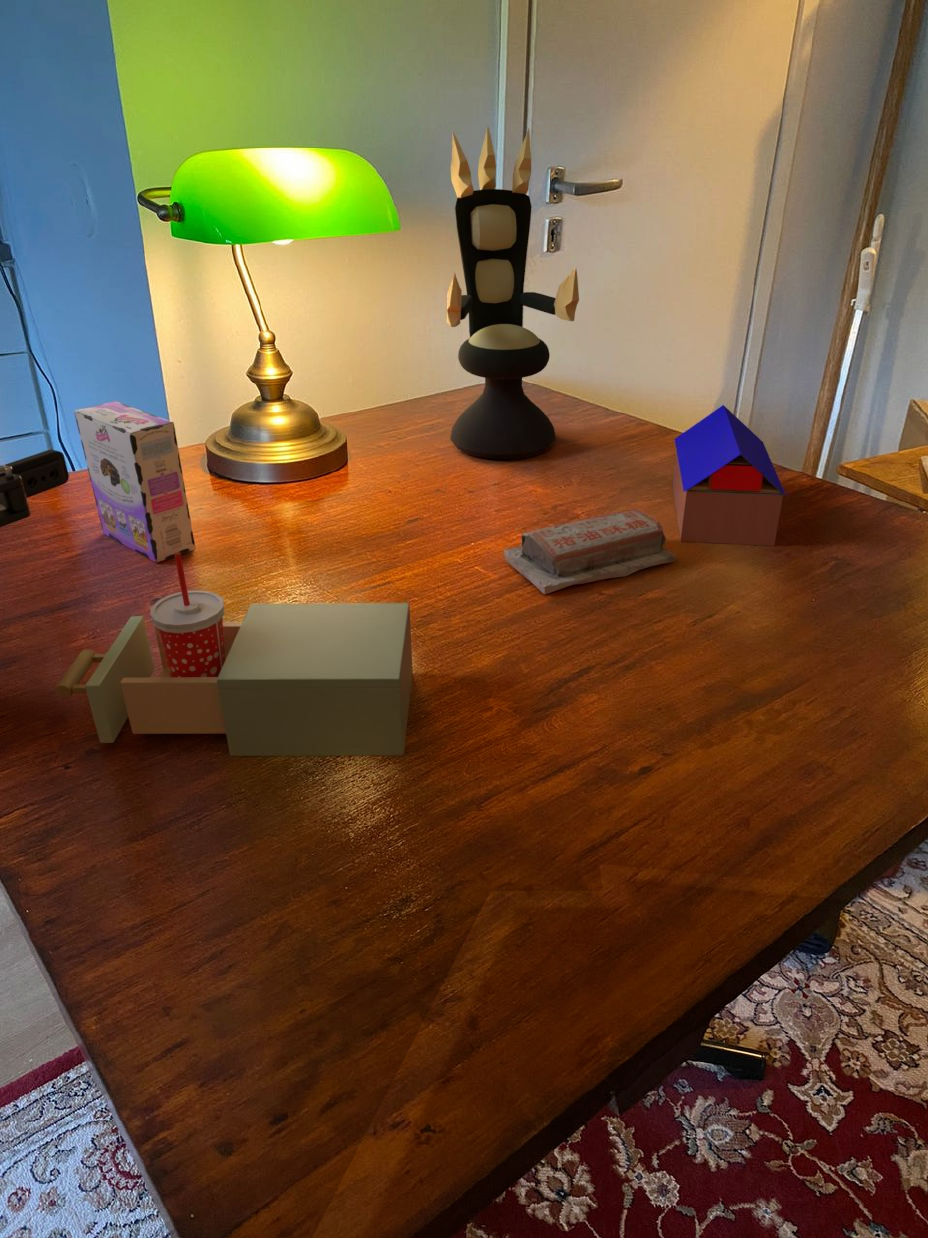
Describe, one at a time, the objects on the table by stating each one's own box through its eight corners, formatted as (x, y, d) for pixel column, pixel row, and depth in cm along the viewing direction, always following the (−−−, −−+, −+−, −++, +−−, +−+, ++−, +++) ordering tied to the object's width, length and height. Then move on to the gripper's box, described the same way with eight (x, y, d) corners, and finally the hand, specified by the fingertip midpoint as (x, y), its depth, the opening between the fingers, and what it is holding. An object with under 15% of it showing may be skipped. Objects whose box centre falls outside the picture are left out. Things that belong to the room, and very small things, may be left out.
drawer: (50, 743, 77) (33, 685, 74) (99, 669, 87) (86, 615, 84) (258, 742, 77) (249, 685, 74) (283, 668, 87) (276, 615, 84)
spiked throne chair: (453, 469, 136) (447, 128, 114) (428, 424, 155) (418, 124, 133) (573, 459, 139) (590, 126, 117) (534, 416, 158) (543, 122, 136)
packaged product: (630, 498, 113) (680, 527, 105) (627, 533, 115) (675, 564, 108) (502, 524, 106) (545, 558, 99) (502, 561, 109) (543, 597, 101)
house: (755, 487, 129) (768, 406, 123) (777, 547, 112) (793, 456, 106) (669, 483, 130) (678, 403, 124) (678, 542, 113) (688, 452, 107)
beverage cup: (196, 670, 85) (171, 533, 78) (251, 683, 83) (230, 544, 76) (153, 705, 80) (122, 562, 73) (210, 720, 78) (184, 575, 71)
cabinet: (229, 756, 77) (216, 679, 73) (260, 673, 88) (250, 603, 84) (403, 755, 77) (399, 678, 73) (412, 672, 88) (409, 602, 84)
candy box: (198, 550, 113) (176, 420, 105) (155, 565, 109) (129, 432, 101) (141, 519, 121) (116, 397, 113) (100, 533, 117) (71, 408, 109)
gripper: (-204, 502, 44) (79, 414, 56) (-336, 452, 50) (-58, 383, 62) (-149, 636, 47) (104, 526, 59) (-279, 574, 54) (-27, 486, 66)
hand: (21, 453), depth 61 cm, fingers open, 8 cm apart
